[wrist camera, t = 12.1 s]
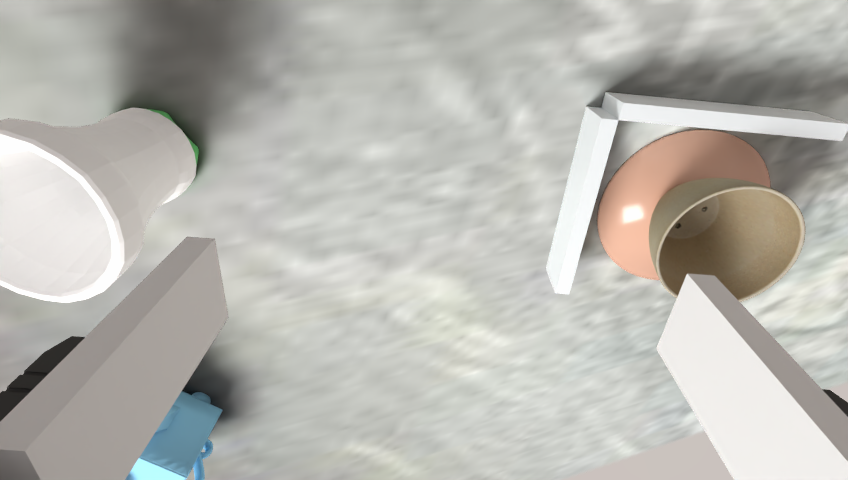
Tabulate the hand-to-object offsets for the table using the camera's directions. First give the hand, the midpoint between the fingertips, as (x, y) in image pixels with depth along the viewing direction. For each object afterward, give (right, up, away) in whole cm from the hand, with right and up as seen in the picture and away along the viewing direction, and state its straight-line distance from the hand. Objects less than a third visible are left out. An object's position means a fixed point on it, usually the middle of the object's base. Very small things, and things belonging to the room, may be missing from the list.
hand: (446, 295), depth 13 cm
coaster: (+21, +4, +27) cm, 35 cm away
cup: (-23, +9, +26) cm, 36 cm away
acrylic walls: (+20, +5, +26) cm, 33 cm away
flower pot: (+22, +4, +26) cm, 34 cm away
